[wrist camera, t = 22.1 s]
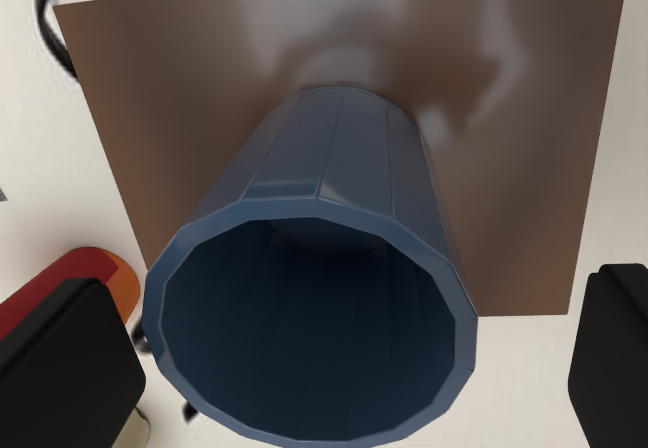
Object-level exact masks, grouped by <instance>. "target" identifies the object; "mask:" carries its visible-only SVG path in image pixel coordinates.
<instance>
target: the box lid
mask: <svg viewBox="0 0 648 448" xmlns="http://www.w3.org/2000/svg"><path fill="white" fill-rule="evenodd" d="M622 6H623V0H91V1H84V2H76V3H69V4H61V5H54V6H53V10H54V13H55V16H56V18H57V21H58V24H59V27H60V29H61V32H62V35H63V38H64V41H65V43H66V46H67V49H68V52H69V54H70V57H71V60H72V63H73V65H74V68H75V71H76V74H77V76H78V79H79V82H80V85H81V87H82V90H83V93H84V96H85V99H86V101H87V104H88V107H89V110H90V112H91V115H92V118H93V121H94V123H95V126H96V129H97V132H98V134H99V137H100V140H101V143H102V145H103V148H104V151H105V154H106V157H107V159H108V162H109V165H110V168H111V170H112V173H113V176H114V179H115V181H116V184H117V187H118V190H119V192H120V195H121V198H122V201H123V203H124V206H125V209H126V212H127V215H128V217H129V220H130V223H131V226H132V228H133V231H134V234H135V237H136V239H137V242H138V245H139V248H140V250H141V253H142V256H143V259H144V261H145V264H146V267H147V270H148V271H149V269H150V268H151V267H152V265H153V264H154V263H155V261H156V260H157V259H158V257H159V256H160V254H161V253H162V252H163V250H164V249H165V248H166V246H167V245H168V244H169V242H170V241H171V240H172V238H173V237H174V236H175V234H176V233H177V231H178V230H179V229H180V227H181V226H182V225H183V224H184V222H185V221H186V220H187V218H188V217H189V216H190V214H191V213H192V212H193V210H194V209H195V208H196V206H197V205H198V204H199V202H200V201H201V200H202V198H203V197H204V196H205V195H206V193H207V192H208V191H209V189H210V188H211V187H212V185H213V184H214V183H215V181H216V180H217V179H218V177H219V176H220V175H221V173H222V172H223V171H224V169H225V168H226V167H227V165H228V164H229V163H230V162H231V160H232V159H233V158H234V156H235V155H236V154H237V152H238V151H239V150H240V148H241V147H242V146H243V144H244V143H245V142H246V140H247V139H248V138H249V136H250V135H251V134H252V132H253V131H254V130H255V129H256V127H257V126H258V125H259V123H260V122H261V121H262V119H263V118H264V117H265V115H266V114H267V113H268V112H269V111H270V110H271V109H273V108H274V107H276V106H277V105H278V104H279V103H281V102H282V101H284V100H286V99H287V98H289V97H291V96H293V95H295V94H297V93H299V92H302V91H305V90H308V89H312V88H317V87H323V86H349V87H355V88H359V89H364V90H367V91H370V92H372V93H375V94H377V95H380V96H381V97H383V98H385V99H387V100H389V101H390V102H392V103H393V104H394V105H396V106H397V107H398V108H400V109H401V110H402V111H403V112H404V113H405V114H406V115H407V116H408V117H409V118H410V119H411V120H412V121H413V123H414V124H415V125H416V127H417V128H418V130H419V131H420V133H421V135H422V137H423V139H424V141H425V143H426V146H427V148H428V151H429V153H430V155H431V158H432V160H433V163H434V166H435V170H436V173H437V176H438V180H439V183H440V187H441V190H442V194H443V197H444V201H445V204H446V208H447V211H448V215H449V218H450V222H451V225H452V228H453V232H454V235H455V239H456V242H457V246H458V249H459V253H460V256H461V260H462V263H463V267H464V270H465V274H466V277H467V280H468V284H469V287H470V291H471V294H472V298H473V301H474V305H475V308H476V312H477V316H478V317H486V316H531V315H567V314H568V309H569V303H570V297H571V292H572V286H573V281H574V275H575V269H576V264H577V258H578V253H579V247H580V241H581V236H582V230H583V225H584V219H585V213H586V208H587V202H588V197H589V191H590V185H591V180H592V174H593V169H594V163H595V157H596V152H597V146H598V141H599V135H600V129H601V124H602V118H603V112H604V107H605V101H606V96H607V90H608V84H609V79H610V73H611V68H612V62H613V56H614V51H615V45H616V40H617V34H618V28H619V23H620V17H621V12H622Z"/></svg>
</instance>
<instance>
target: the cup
mask: <svg viewBox="0 0 648 448" xmlns="http://www.w3.org/2000/svg"><path fill="white" fill-rule="evenodd" d="M141 324H142V329H143V331H144V334H145V336H146V339H147V341H148V344H149V346H150V349H151V351H152V354H153V356H154V359H155V361H156V364H157V366H158V369H159V370H160V372H161V373H162V375H163V376H164V377H165V378H166V379H167V380H168V381H169V382H170V383H171V384H172V385H173V386H174V387H175V388H176V389H177V391H178V392H179V393H180V394H181V395H182V396H183V397H184V398H185V399H186V400H187V401H188V402H189V403H190V404H191V405H192V406H193V408H195V409H196V410H197V411H199V412H201V413H202V414H204V415H206V416H208V417H209V418H211V419H213V420H215V421H216V422H218V423H220V424H222V425H223V426H225V427H227V428H229V429H230V430H232V431H234V432H236V433H237V434H239V435H241V436H244V437H246V438H249V439H253V440H257V441H260V442H264V443H268V444H271V445H275V446H279V447H282V448H372V447H376V446H380V445H383V444H387V443H391V442H395V441H399V440H403V438H407V437H408V436H410V435H412V434H413V433H415V432H416V431H418V430H419V429H421V428H422V427H424V426H426V425H427V424H429V423H430V422H432V421H433V420H435V419H436V418H438V417H440V416H441V415H443V414H444V413H446V412H447V411H448V410H449V408H450V407H451V405H452V404H453V402H454V401H455V399H456V398H457V396H458V395H459V393H460V392H461V390H462V389H463V387H464V385H465V384H466V382H467V381H468V379H469V378H470V376H471V375H472V373H473V372H474V369H475V363H476V346H477V329H478V316H477V312H476V308H475V305H474V301H473V298H472V294H471V291H470V287H469V284H468V280H467V277H466V274H465V270H464V267H463V263H462V260H461V256H460V253H459V249H458V246H457V242H456V239H455V235H454V232H453V228H452V225H451V222H450V218H449V215H448V211H447V208H446V204H445V201H444V197H443V194H442V190H441V187H440V183H439V180H438V176H437V173H436V170H435V166H434V163H433V160H432V158H431V155H430V153H429V151H428V148H427V146H426V143H425V141H424V139H423V137H422V135H421V133H420V131H419V130H418V128H417V127H416V125H415V124H414V123H413V121H412V120H411V119H410V118H409V117H408V116H407V115H406V114H405V113H404V112H403V111H402V110H401V109H400V108H398V107H397V106H396V105H394V104H393V103H392V102H390V101H389V100H387V99H385V98H383V97H381V96H380V95H377V94H375V93H372V92H370V91H367V90H364V89H359V88H355V87H349V86H323V87H317V88H312V89H308V90H305V91H302V92H299V93H297V94H295V95H293V96H291V97H289V98H287V99H286V100H284V101H282V102H281V103H279V104H278V105H277V106H276V107H274V108H273V109H271V110H270V111H269V112H268V113H267V114H266V115H265V117H264V118H263V119H262V121H261V122H260V123H259V125H258V126H257V127H256V129H255V130H254V131H253V132H252V134H251V135H250V136H249V138H248V139H247V140H246V142H245V143H244V144H243V146H242V147H241V148H240V150H239V151H238V152H237V154H236V155H235V156H234V158H233V159H232V160H231V162H230V163H229V164H228V165H227V167H226V168H225V169H224V171H223V172H222V173H221V175H220V176H219V177H218V179H217V180H216V181H215V183H214V184H213V185H212V187H211V188H210V189H209V191H208V192H207V193H206V195H205V196H204V197H203V198H202V200H201V201H200V202H199V204H198V205H197V206H196V208H195V209H194V210H193V212H192V213H191V214H190V216H189V217H188V218H187V220H186V221H185V222H184V224H183V225H182V226H181V227H180V229H179V230H178V231H177V233H176V234H175V236H174V237H173V238H172V240H171V241H170V242H169V244H168V245H167V246H166V248H165V249H164V250H163V252H162V253H161V254H160V256H159V257H158V259H157V260H156V261H155V263H154V264H153V265H152V267H151V268H150V269H149V271H148V272H147V275H146V281H145V291H144V300H143V310H142V320H141Z"/></svg>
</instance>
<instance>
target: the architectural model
mask: <svg viewBox="0 0 648 448" xmlns="http://www.w3.org/2000/svg"><path fill="white" fill-rule="evenodd" d="M1 201H6V199H5V197H4V195H3V194H2V192H1V191H0V202H1Z"/></svg>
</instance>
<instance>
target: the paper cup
mask: <svg viewBox="0 0 648 448" xmlns="http://www.w3.org/2000/svg"><path fill="white" fill-rule="evenodd" d="M75 277H95V278H98V279H99V280H100V281H101V282H102V284H105V285H106V286H107V287H108V288H109V290H110V292H111V295H112V297H113V299H114V302H115V304H116V307H117V309H118V311H119V314H120V316H121V318H122V321H123V323H124V326H125V324H126V322H127V320H128V319H129V317H130V315H131V313H132V312H133V310H134V308H135V306H136V304H137V302H138V299H139V296H140V285H139V282H138V279H137V277H136V275H135V273H134V272H133V270H132V269H131V268H130V267H129V266H128V265H127V264H126V263H125V262H124V261H123V260H122V259H120V258H119V257H117V256H116V255H114V254H112V253H110V252H108V251H105V250H103V249H99V248H94V247H81V248H76V249H74V250H71V251H70V252H68V253H66V254H65V255H63V256H62V257H60V258H59V259H58V260H56V261H55V262H54V263H52V264H51V265H50V266H48V267H47V268H46V269H44V270H43V271H42V272H41V273H39V274H38V275H37V276H35V277H34V278H33V279H32V280H30V281H29V282H28V283H26V284H25V285H24V286H23V287H21V288H20V289H19V290H18V291H16V292H15V293H14V294H12V295H11V296H10V297H9V298H7V299H6V300H5V301H4V302H2V303H1V304H0V340H1V339H3V338H4V337H5V336H6V335H7V334H8V333H9V332H10V331H11V330H12V329H13V328H14V327H15V326H16V325H17V324H18V323H19V322H20V321H21V320H22V319H23V318H24V317H25V316H26V315H27V314H28V313H30V312H31V311H32V310H33V309H34V308H35V307H36V306H37V305H38V304H39V303H40V302H41V301H42V300H43V299H44V298H45V297H46V296H47V295H48V294H49V293H50V292H51V291H52V290H53V289H54V288H55V287H57V286H58V285H59V284H60V283H61V282H62V281H63V280H65V279H66V278H75Z"/></svg>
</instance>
